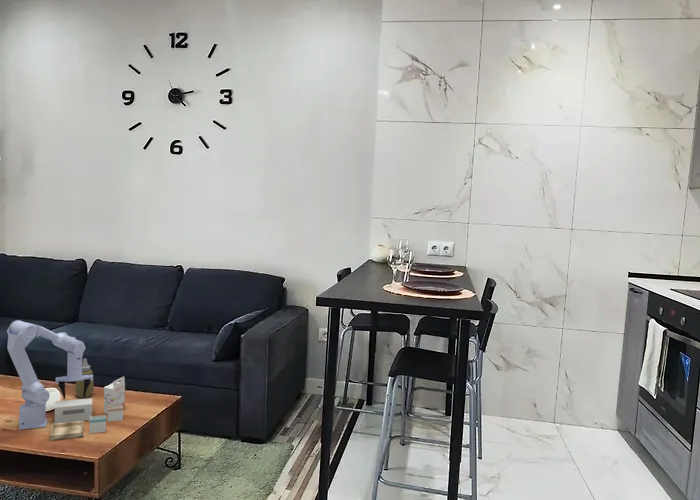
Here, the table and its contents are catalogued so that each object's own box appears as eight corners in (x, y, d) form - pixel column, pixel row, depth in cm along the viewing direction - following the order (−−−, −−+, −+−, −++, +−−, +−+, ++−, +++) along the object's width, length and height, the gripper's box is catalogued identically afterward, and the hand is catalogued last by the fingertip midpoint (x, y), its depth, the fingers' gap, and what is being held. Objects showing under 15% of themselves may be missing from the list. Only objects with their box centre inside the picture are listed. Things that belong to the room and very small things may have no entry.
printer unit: (54, 424, 231) (54, 407, 230) (55, 417, 238) (55, 401, 237) (91, 420, 237) (92, 404, 236) (91, 413, 244) (92, 397, 243)
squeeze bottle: (97, 395, 264) (98, 358, 262) (81, 400, 257) (82, 362, 255) (87, 391, 268) (87, 355, 266) (71, 396, 261) (71, 358, 259)
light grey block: (107, 421, 237) (107, 409, 236) (107, 418, 240) (107, 405, 240) (123, 420, 239) (123, 407, 239) (122, 416, 243) (122, 404, 242)
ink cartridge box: (114, 406, 253) (115, 374, 252) (124, 407, 252) (125, 375, 251) (103, 413, 245) (103, 380, 244) (113, 414, 244) (113, 382, 243)
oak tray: (50, 440, 216) (50, 435, 216) (51, 428, 227) (51, 424, 227) (83, 437, 221) (83, 432, 221) (83, 425, 232) (83, 420, 231)
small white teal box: (89, 433, 225) (89, 420, 224) (89, 429, 228) (89, 416, 228) (105, 431, 227) (106, 418, 227) (105, 427, 231) (105, 414, 230)
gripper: (93, 363, 249) (92, 392, 251) (56, 365, 243) (55, 395, 244) (93, 367, 243) (92, 398, 244) (55, 370, 237) (55, 401, 238)
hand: (74, 397), depth 244 cm, fingers open, 7 cm apart
